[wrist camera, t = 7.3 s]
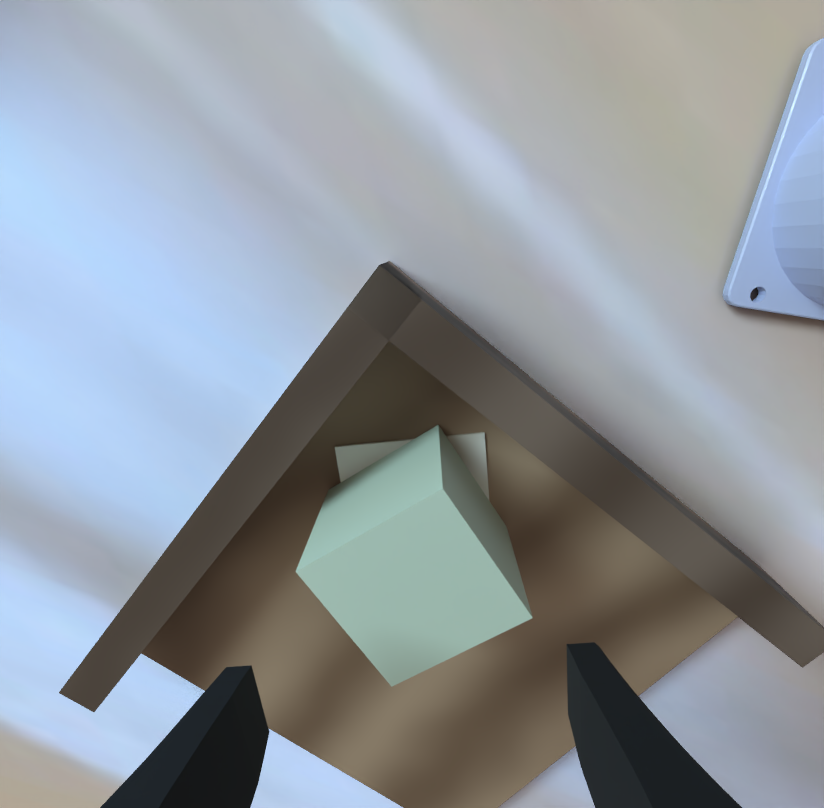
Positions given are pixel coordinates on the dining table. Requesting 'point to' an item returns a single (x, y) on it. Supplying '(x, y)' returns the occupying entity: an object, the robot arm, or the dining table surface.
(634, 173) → the dining table surface
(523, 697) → the arena
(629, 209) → the dining table surface
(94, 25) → the dining table surface
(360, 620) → the sage cube
